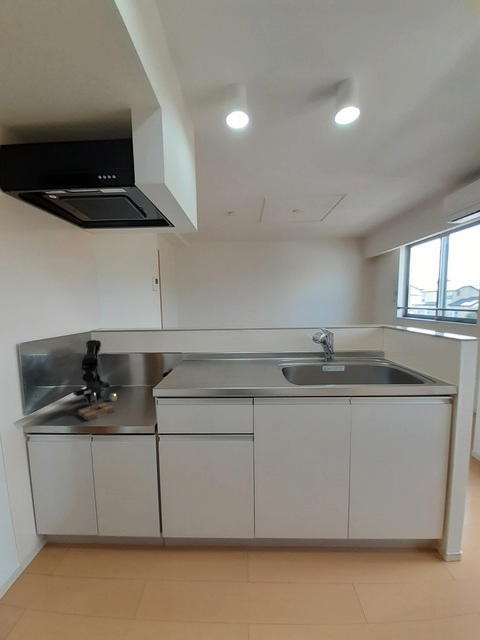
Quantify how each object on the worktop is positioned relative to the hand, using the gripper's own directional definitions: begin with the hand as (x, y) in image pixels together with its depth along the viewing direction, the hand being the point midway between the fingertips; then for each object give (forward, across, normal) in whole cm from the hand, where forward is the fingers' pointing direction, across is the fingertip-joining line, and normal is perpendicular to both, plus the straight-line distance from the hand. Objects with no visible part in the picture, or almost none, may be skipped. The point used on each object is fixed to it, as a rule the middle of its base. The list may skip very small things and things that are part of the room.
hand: (93, 402), depth 159 cm
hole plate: (+3, -3, -12) cm, 12 cm away
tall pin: (+2, 0, 0) cm, 2 cm away
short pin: (+3, +12, 0) cm, 12 cm away
